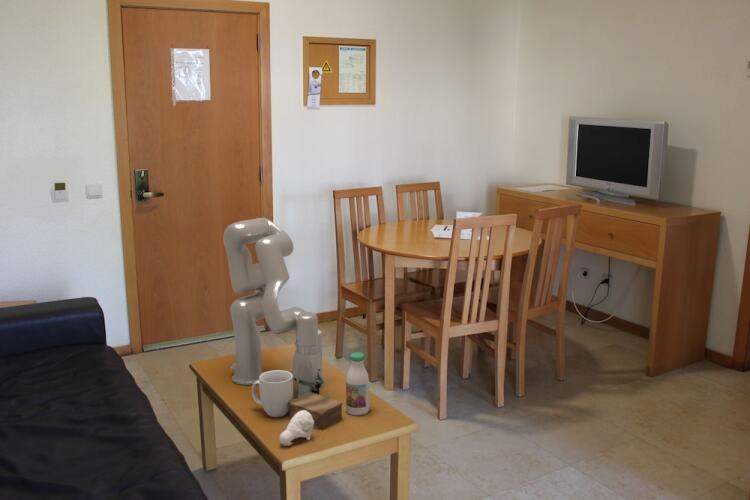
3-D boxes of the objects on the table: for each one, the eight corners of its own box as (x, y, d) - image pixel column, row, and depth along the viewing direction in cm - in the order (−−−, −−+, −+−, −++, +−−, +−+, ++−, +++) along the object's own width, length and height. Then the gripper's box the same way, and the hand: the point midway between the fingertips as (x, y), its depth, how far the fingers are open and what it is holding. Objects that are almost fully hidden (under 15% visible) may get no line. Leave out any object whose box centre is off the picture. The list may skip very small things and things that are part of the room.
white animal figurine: (315, 411, 222) (286, 428, 214) (317, 435, 225) (289, 453, 216) (300, 405, 226) (272, 421, 218) (303, 429, 229) (275, 447, 220)
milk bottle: (353, 404, 247) (352, 349, 243) (373, 408, 244) (372, 352, 240) (342, 413, 241) (341, 356, 236) (362, 417, 237) (362, 360, 233)
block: (298, 399, 252) (297, 383, 251) (307, 395, 256) (307, 379, 254) (309, 403, 249) (308, 386, 248) (318, 398, 253) (318, 382, 252)
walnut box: (288, 419, 237) (288, 402, 236) (310, 408, 245) (310, 391, 244) (321, 431, 229) (321, 413, 227) (342, 419, 237) (342, 402, 235)
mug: (244, 415, 240) (242, 378, 237) (261, 402, 250) (259, 366, 247) (284, 422, 234) (282, 384, 232) (299, 409, 244) (298, 372, 241)
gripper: (281, 346, 250) (282, 395, 254) (319, 356, 240) (320, 407, 244) (295, 340, 256) (297, 388, 260) (333, 350, 246) (334, 399, 250)
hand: (308, 396), depth 252 cm, fingers open, 5 cm apart
